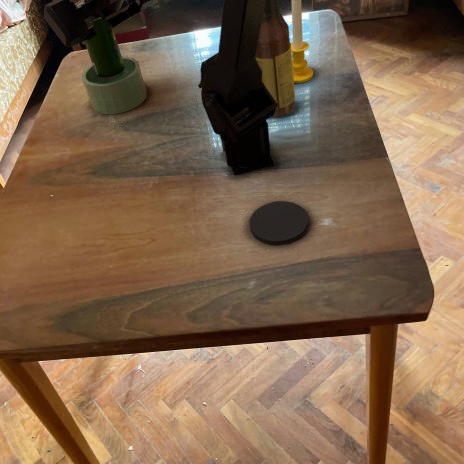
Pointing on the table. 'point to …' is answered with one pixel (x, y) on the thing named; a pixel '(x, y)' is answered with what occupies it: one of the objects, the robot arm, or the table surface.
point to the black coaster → (279, 223)
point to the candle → (299, 46)
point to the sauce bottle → (276, 58)
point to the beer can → (104, 50)
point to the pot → (116, 89)
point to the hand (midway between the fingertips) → (94, 34)
